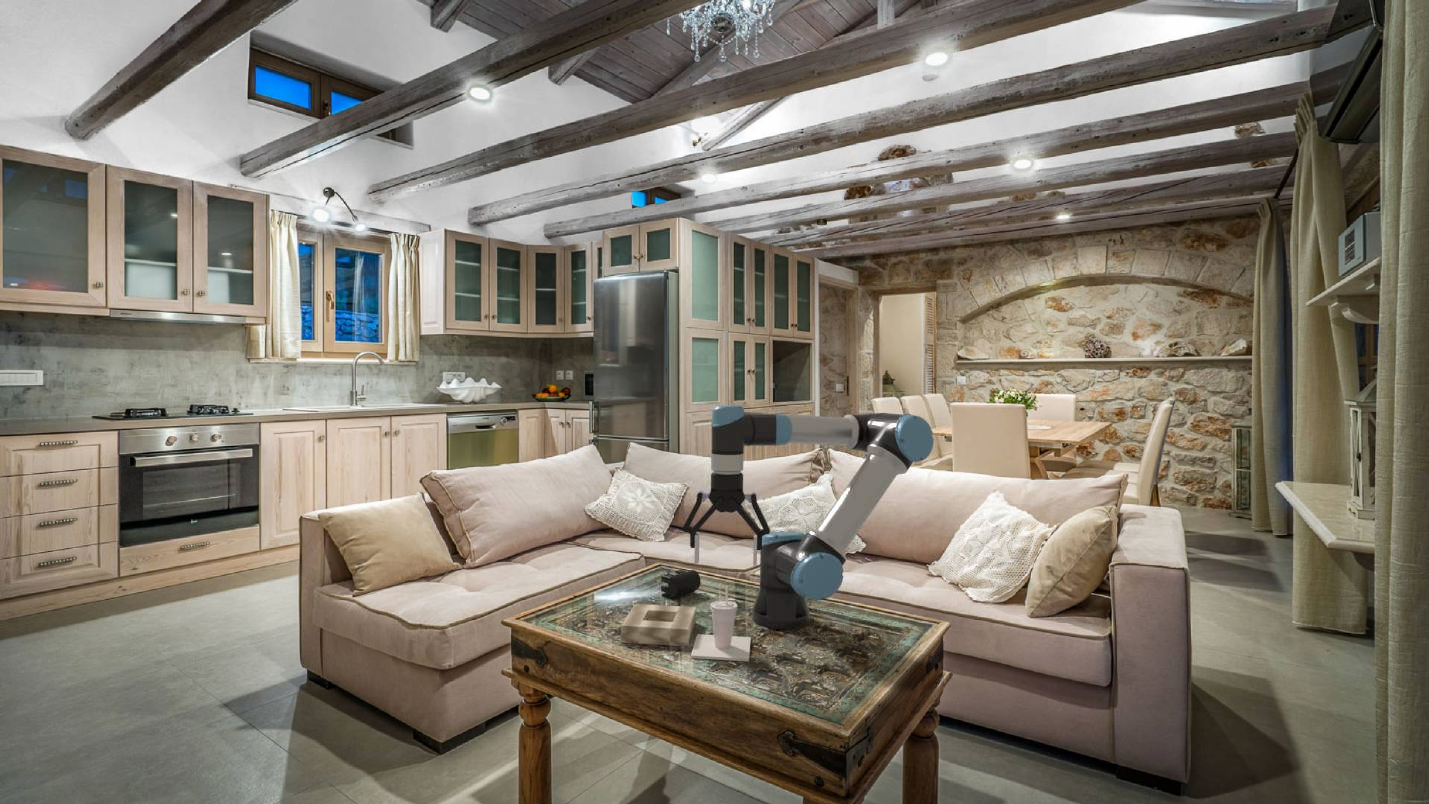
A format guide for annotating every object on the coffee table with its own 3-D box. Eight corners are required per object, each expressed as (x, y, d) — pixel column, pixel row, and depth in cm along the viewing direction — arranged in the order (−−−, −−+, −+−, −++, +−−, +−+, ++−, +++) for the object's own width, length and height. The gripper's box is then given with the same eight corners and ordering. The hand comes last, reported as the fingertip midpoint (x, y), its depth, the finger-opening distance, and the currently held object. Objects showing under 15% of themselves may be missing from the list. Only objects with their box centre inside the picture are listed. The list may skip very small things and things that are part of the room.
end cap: (677, 602, 185) (677, 578, 185) (659, 596, 190) (660, 573, 190) (700, 594, 193) (701, 571, 192) (683, 589, 197) (683, 567, 197)
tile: (750, 639, 158) (750, 637, 158) (748, 661, 145) (749, 658, 145) (697, 636, 159) (697, 634, 159) (690, 658, 146) (690, 655, 146)
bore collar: (695, 622, 169) (695, 607, 169) (687, 646, 153) (688, 629, 153) (634, 619, 170) (634, 603, 170) (620, 642, 154) (620, 625, 154)
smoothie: (740, 650, 150) (742, 589, 149) (713, 652, 148) (715, 591, 148) (731, 639, 156) (733, 581, 156) (705, 641, 154) (707, 582, 154)
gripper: (780, 471, 154) (779, 560, 155) (676, 468, 156) (675, 556, 157) (781, 475, 147) (779, 569, 147) (671, 472, 149) (670, 565, 149)
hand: (725, 563), depth 152 cm, fingers open, 13 cm apart
